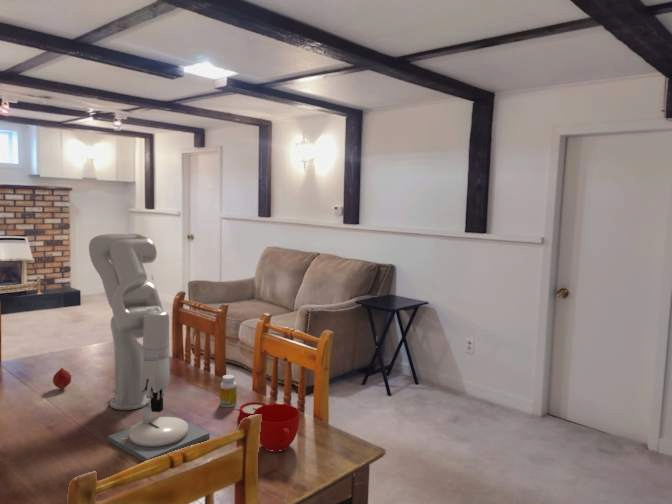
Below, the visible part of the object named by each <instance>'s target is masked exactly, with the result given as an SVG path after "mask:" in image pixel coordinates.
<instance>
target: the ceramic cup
mask: <svg viewBox="0 0 672 504" xmlns="http://www.w3.org/2000/svg"><path fill="white" fill-rule="evenodd" d="M255 414H262V422H261V432H260V442H259V443H260V445H261V446H262V447H263V448H264V449H265V448H266V449H268V450H273V451H279V450H284V449H286V448H287V449H288V448H289V446H290V445H291V444H292V443H293V442H294V440H295V438H296V436H297V433H298V430H299V425H300V416H301V415H300V410H299V409H298V408H296V407H295V406H293V405H291V404H289V405H288V404H284V403H272V404H271V403H269V404H266V405H265V406H262V407H259V408H258V409H256V410H255V411H254V415H255ZM266 449H265V450H266ZM287 449H286V450H287ZM284 451H285V450H284Z"/></svg>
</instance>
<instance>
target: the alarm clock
mask: <svg viewBox="0 0 672 504" xmlns="http://www.w3.org/2000/svg"><path fill="white" fill-rule="evenodd" d="M265 405H267V404H265V403H263V402H258V401H257V402H256V401H255V402H254V401H253V402H247V403H244V404H242V405H241V406H240V407H239V409H237V408H233V409H232V410H233V411H238V412H239V413H238V416H237V422H238V423H239V424H240V421H241V420H242V419H243V418H245V417H248V416H250V415H254V411H255V410H256V409H258V408H259V407H262V406H265Z"/></svg>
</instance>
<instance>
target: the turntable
mask: <svg viewBox="0 0 672 504" xmlns="http://www.w3.org/2000/svg"><path fill="white" fill-rule="evenodd" d="M175 417H176V416H173V417H162V416H160V417H152V411H151V405H150V406H149V405H146V406H143V407H142V420H141V421H139V422H137V423H135V424H134V425H132V426H131V427H130V428H131V429H130V431H129V439H130V441H131V442H132V443H134V444H136V445H140V446H147V447H155V446H163V445H168V444H172V443H175V442H177V441H179V440H181V439H182V438H184V437H185V436H186V435H187V433H188V424H187V423H188V422H187V421H185V420H183V419H182V418H180V417H176V418H175Z"/></svg>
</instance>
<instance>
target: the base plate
mask: <svg viewBox="0 0 672 504" xmlns="http://www.w3.org/2000/svg"><path fill="white" fill-rule="evenodd" d="M161 417H175V418H177V417H176V416H173V415H171V414H169V413H168V414H166V415H162V416H161ZM187 424H188V433H187V435H186V436H185V437H184V438H182V439H181V440H179V441H177V442H175V443H172V444H168V445H163V446H155V447H147V446H140V445H136V444H134V443H132V442H131V441H130V439H129V431H130V429H131V427H129V428H126V429H123V430H122V431H118V432H115V433H112V434H109V435H107V442H109V443H110V444H112V445H114V446H116V447H117V448H119V449H121V450H122V451H124V452H127V453H128V454H130V455H131V456H133V457H135V458H136V459H138V460H139V461H141V462H143V461H146V460H149V459H152V458H155V457H158V456H161V455H164V454H167V453H169V452H172V451H175V450H178V449H181V448H184V447H187V446H189V447H191V446H190V445H192V444H194V445H196V444H198V443H200V442H201V443H202V442H203V441H206V440H208V439H210V432H208V431H206V430H203V428H199V427H197V426H196V425H192V424H190V423H188V422H187ZM192 446H193V445H192ZM187 448H188V447H187Z"/></svg>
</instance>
